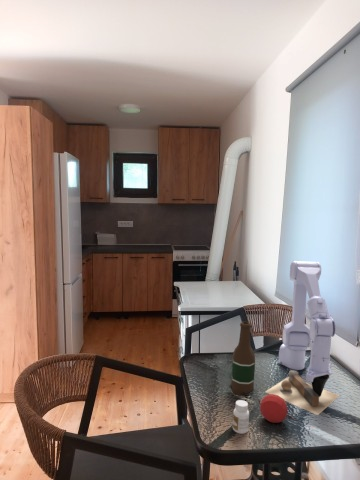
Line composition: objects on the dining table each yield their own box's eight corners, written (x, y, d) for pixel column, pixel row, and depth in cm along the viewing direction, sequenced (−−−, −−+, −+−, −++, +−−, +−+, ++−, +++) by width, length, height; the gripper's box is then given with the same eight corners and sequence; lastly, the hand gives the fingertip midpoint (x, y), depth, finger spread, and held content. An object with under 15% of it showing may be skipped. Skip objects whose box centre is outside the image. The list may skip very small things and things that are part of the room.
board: (264, 396, 119) (265, 381, 118) (289, 380, 131) (290, 366, 130) (317, 420, 106) (318, 404, 106) (339, 399, 118) (340, 385, 118)
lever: (287, 379, 128) (287, 370, 127) (295, 378, 128) (296, 370, 128) (310, 406, 110) (311, 396, 110) (320, 406, 111) (320, 395, 110)
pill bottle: (230, 424, 102) (232, 399, 101) (245, 424, 103) (247, 398, 102) (234, 434, 98) (236, 407, 97) (250, 434, 98) (251, 407, 97)
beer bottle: (255, 388, 123) (259, 321, 121) (250, 399, 116) (254, 328, 114) (234, 383, 126) (237, 317, 124) (227, 393, 119) (231, 324, 117)
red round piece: (274, 400, 100) (278, 383, 107) (252, 409, 104) (257, 392, 110) (291, 423, 100) (294, 405, 106) (269, 431, 103) (273, 413, 110)
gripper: (323, 365, 105) (319, 409, 107) (341, 352, 116) (338, 392, 117) (300, 358, 110) (297, 399, 112) (320, 346, 121) (317, 384, 122)
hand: (317, 395), depth 115 cm, fingers closed
